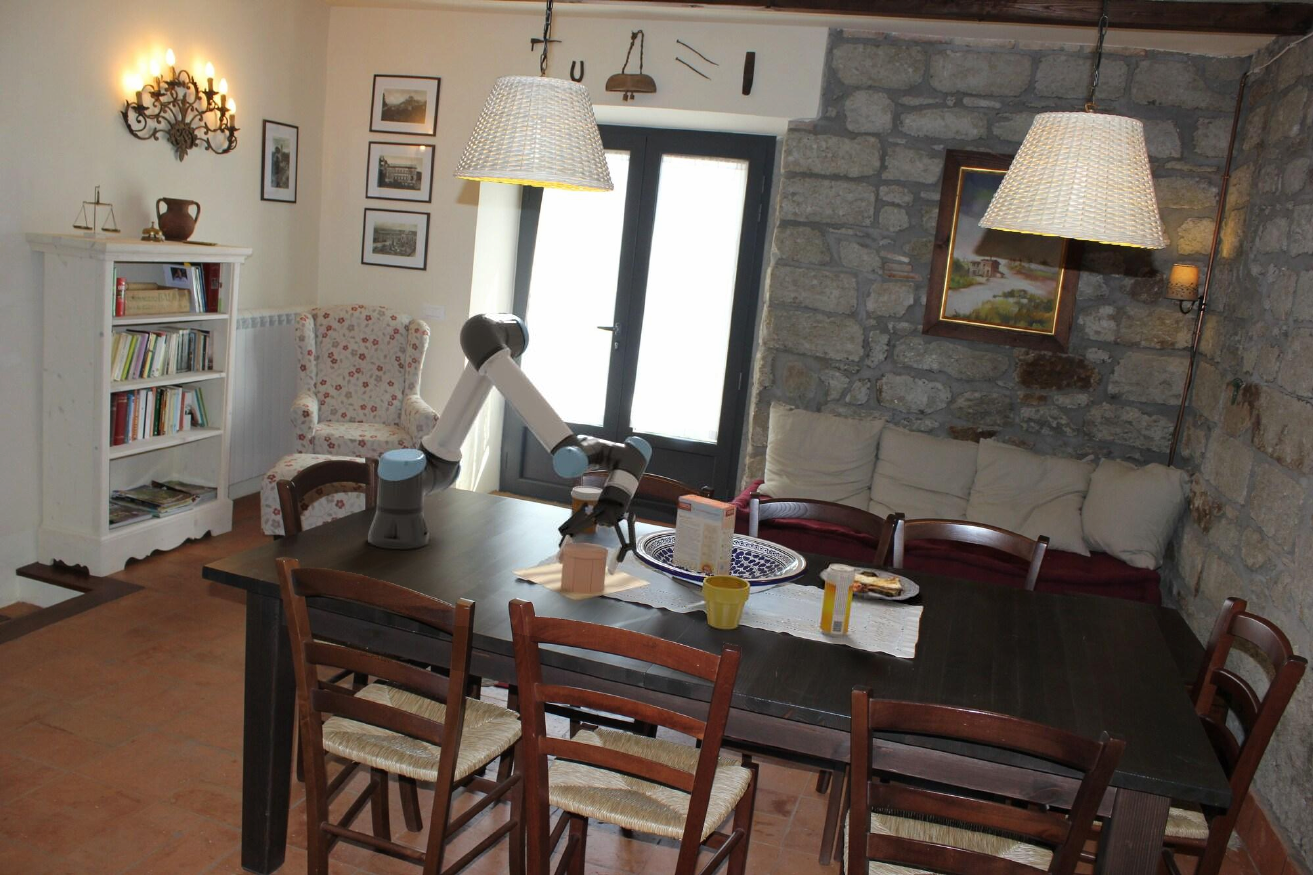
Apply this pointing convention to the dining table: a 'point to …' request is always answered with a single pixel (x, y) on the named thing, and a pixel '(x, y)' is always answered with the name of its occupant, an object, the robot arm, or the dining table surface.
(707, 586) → the plant pot
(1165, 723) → the dining table surface
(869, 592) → the food plate
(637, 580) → the bamboo mat
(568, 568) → the terracotta cup
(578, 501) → the disposable coffee cup
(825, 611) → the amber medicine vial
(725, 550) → the cracker box
